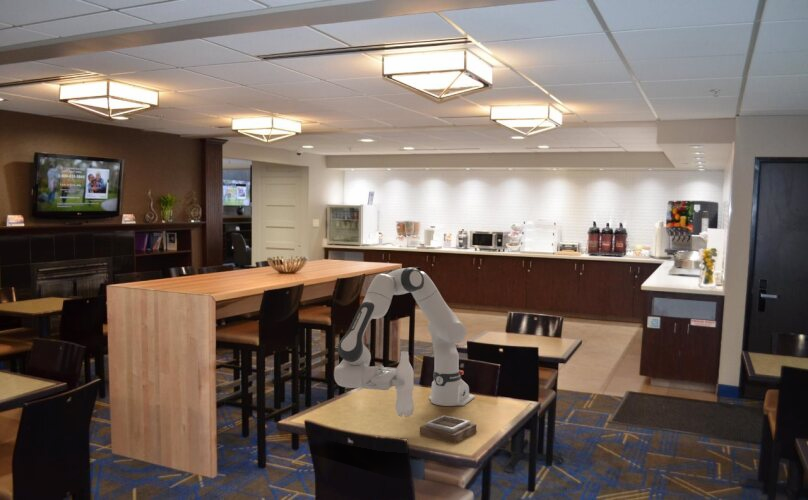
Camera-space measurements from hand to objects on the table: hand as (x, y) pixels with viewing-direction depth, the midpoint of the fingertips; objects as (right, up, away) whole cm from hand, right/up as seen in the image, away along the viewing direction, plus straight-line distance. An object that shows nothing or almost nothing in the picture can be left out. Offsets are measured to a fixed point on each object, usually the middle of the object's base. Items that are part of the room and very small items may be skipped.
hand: (406, 380), depth 252 cm
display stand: (+16, -21, +1) cm, 26 cm away
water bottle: (-1, -14, +1) cm, 14 cm away
